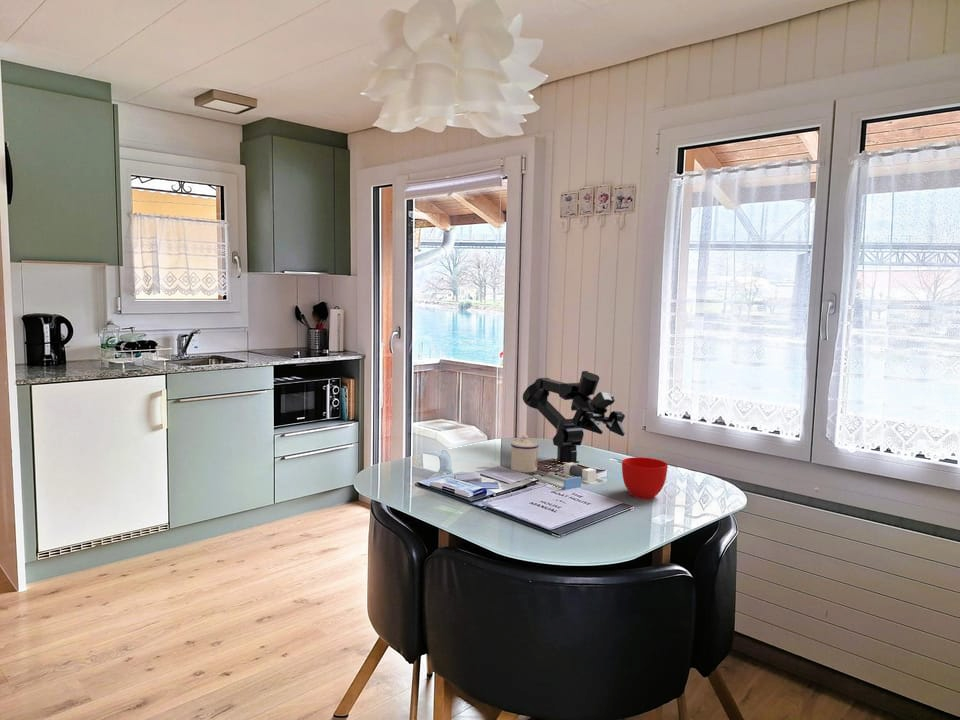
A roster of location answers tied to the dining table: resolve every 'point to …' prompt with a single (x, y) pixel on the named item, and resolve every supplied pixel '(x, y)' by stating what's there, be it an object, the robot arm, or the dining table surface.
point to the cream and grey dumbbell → (580, 472)
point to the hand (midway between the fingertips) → (612, 434)
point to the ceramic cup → (644, 476)
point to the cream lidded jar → (524, 455)
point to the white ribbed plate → (564, 481)
